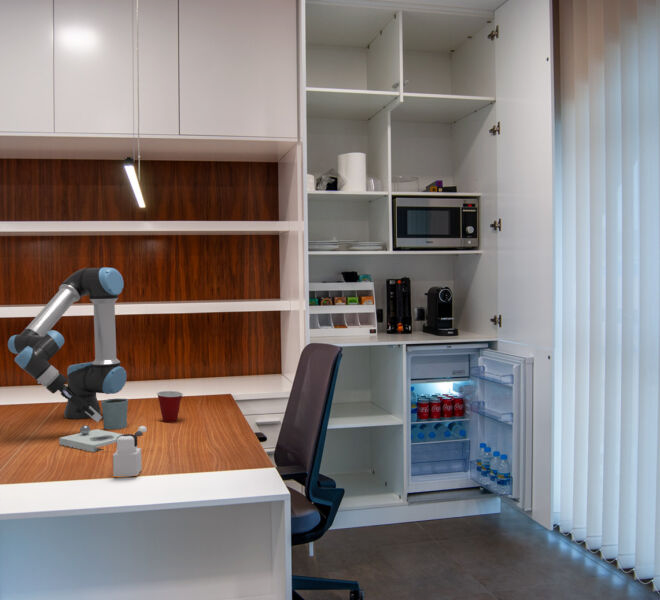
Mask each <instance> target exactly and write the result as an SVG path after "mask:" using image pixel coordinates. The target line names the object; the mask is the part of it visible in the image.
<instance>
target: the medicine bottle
mask: <svg viewBox="0 0 660 600" xmlns="http://www.w3.org/2000/svg"><path fill="white" fill-rule="evenodd" d="M123 434H124V433H123ZM142 463H143V462H142V448H141V447H138V436H136V435H135V434H133V433H128V434H127V433H125V434H124V435H120V436H119V437H117V442H116V451H115V452H114V453H113V454H112V472H113V473H112V477H113V476H134V475H138V474H139V475H140V473H141V472H142V470H143V468H142V466H143V465H142ZM140 471H141V472H140ZM139 472H140V473H139ZM139 475H138V476H139Z"/></svg>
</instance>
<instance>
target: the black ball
mask: <svg viewBox="0 0 660 600" xmlns="http://www.w3.org/2000/svg"><path fill="white" fill-rule="evenodd" d="M143 434H144V432H141V431H138V430H137V431H136V432H135V433H134V435H136V436H137V437H140V436H143Z"/></svg>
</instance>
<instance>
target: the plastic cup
mask: <svg viewBox="0 0 660 600" xmlns="http://www.w3.org/2000/svg"><path fill="white" fill-rule="evenodd" d="M183 395H184V393H183V392H181V391H175V390H162V391H158V392H156V396H157V398H158V401H159V402H158V403H159V407H160V408H159V409H160V413H161V418H162V421H163V422H165V423H173V422H177V421H178V418H179V412H180V406H181V401H182V398H183Z"/></svg>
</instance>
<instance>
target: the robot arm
mask: <svg viewBox="0 0 660 600" xmlns="http://www.w3.org/2000/svg"><path fill="white" fill-rule="evenodd" d="M124 283H125V282H124V279H123V275H122V274H121V272H119V271H118V269H116V268H114V267H107V266H106V267H84V268H82V269H81V268H80V269H79V270H77V271H75V272H74V273H72V274H71V275H70V276H68V277H67V278H65V280H64V281H63V282H62V283H61V284H60V285H59V287H58V291H57V292H56V294H55V295H54V296H53V297H52V298H51V299H50V300H49V302H48V303H47V304H46V305H45V306H44V307H43V308H42V309H41V310H40V311H39V313H38V314H37V315H36V316H35V317H34V318H33V320H32V321H30V323H29V324H28V325H27V326H26V327H25V328H24V330H23V331H22V332H21V333H20V334H15V335H12V336H10V337H9V339H8V341H7V347H8V348H7V349H8V350H9V352H11V353H13V354H15V355H16V356H15V357H14V362H15V363H16V364H17V365H18V366H19V368H20V369H22V370H23V371H25V372H26V373H27V374H28V375H29V376H31V377H32V378H33V379H35V381H36V382H37V384H38V385H40V384H41V385H42V386H43V387H45V388H46V390H48V392H50V393H52V394H55V393H57V392H58V391H59V392H60V395H61V397H63V398H65V399H66V400H67V401H66V404H65V408H64V411H63V416H64V418H65V419H75V420H76V419H77V420H78V419H81V420H82V419H88V418H91V419H93V421H95V422H96V423H99V421H100V420H101V419H103V415H101V414H102V408H101V407H100V404H99V401H98V398H97V394H105V395H112V394H118V393H120V392H121V391H122V390H123V389H124V387H125V384H126V383H127V377H128V376H127V371H126V369H125V368H124V367H123V366H121V361H120V360H119V359H118V358H117V342H116V341H117V339H116V335H117V334H116V308H115V303H116V302H117V300H118V299H119V295H120V294H121V293H122V292H123V290H124ZM84 296H89V301H90V302H92V304H93V325H94V326H93V327H94V357H95V358H94V360H93V361H89V362H82V363H75V364H70V365H69V366H68V367H67V373H66V376H65V375H64V374H63V373H59V370H58V369H57V368H56V367H54V365H52V364H51V363H49V360H50V359H51V358H53V356H55V355H56V353H57V352H58V351H60V349H61V348H62V347H63V345H64V344H65V338H64V336H63V334H61V333H60V332H59V331H57V330H54V329H53V330H52V328H53V327H54V326H55V325H56V324H57V323H58V321H59V320H60V319H61V318H62V316H63V315H64V314H65V313H66V312H67V311H68V310H69V308H70V307H71V306H72V305H73V303H75V302H76V303H77V302H78V301H79V300H80V299H81V298H82V297H84ZM66 383H67V386H66Z"/></svg>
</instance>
